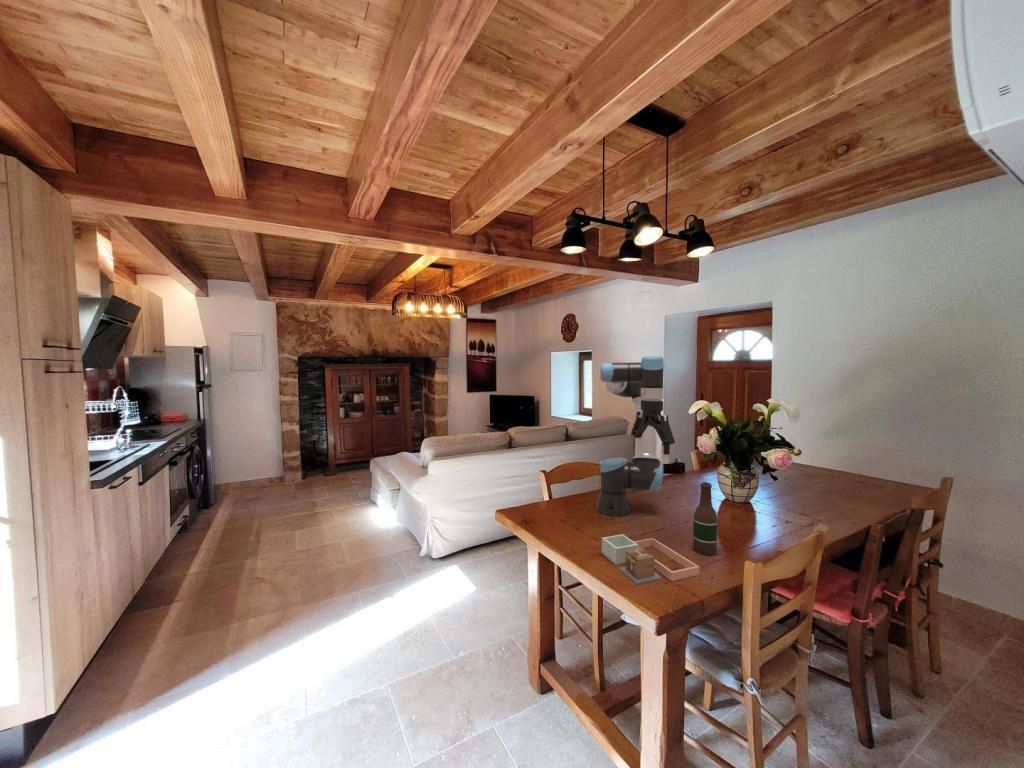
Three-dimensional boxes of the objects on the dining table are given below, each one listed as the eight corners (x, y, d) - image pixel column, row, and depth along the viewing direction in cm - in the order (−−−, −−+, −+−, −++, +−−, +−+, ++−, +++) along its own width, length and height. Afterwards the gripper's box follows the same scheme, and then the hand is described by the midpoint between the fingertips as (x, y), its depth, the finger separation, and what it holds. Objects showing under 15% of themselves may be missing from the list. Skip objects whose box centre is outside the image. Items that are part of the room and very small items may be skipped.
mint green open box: (601, 553, 133) (601, 537, 133) (622, 549, 136) (622, 534, 136) (616, 565, 125) (616, 548, 125) (638, 560, 128) (638, 544, 128)
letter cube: (625, 569, 121) (625, 550, 121) (641, 566, 123) (642, 547, 123) (637, 579, 115) (637, 559, 115) (654, 575, 117) (654, 556, 117)
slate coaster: (619, 569, 122) (619, 567, 122) (642, 565, 125) (642, 563, 125) (637, 584, 114) (637, 582, 114) (661, 579, 117) (661, 577, 117)
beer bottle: (710, 558, 129) (711, 488, 128) (688, 549, 136) (689, 482, 135) (721, 551, 134) (722, 483, 133) (699, 543, 140) (700, 478, 139)
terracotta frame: (628, 549, 136) (628, 542, 136) (652, 544, 139) (652, 537, 139) (671, 581, 116) (672, 572, 116) (699, 574, 119) (699, 566, 119)
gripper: (621, 397, 147) (621, 452, 147) (668, 403, 123) (667, 468, 124) (638, 397, 149) (637, 451, 150) (686, 402, 125) (685, 466, 126)
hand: (651, 459), depth 137 cm, fingers open, 13 cm apart
